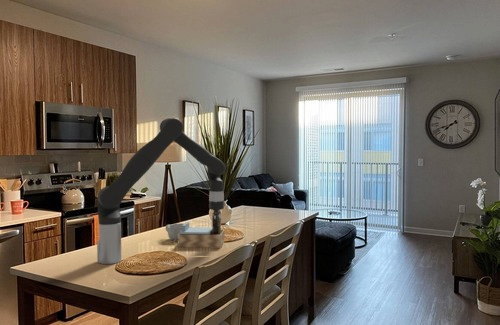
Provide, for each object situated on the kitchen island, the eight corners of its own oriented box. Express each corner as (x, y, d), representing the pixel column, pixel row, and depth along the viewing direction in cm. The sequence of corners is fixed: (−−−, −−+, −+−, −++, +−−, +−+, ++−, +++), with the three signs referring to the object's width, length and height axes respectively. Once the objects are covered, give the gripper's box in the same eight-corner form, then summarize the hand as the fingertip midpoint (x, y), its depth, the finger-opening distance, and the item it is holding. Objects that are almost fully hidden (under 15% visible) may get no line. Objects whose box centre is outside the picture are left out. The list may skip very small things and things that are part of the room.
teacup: (191, 239, 206) (191, 225, 206) (175, 243, 198) (175, 228, 198) (176, 235, 216) (176, 221, 216) (160, 238, 208) (160, 224, 208)
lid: (179, 234, 187) (179, 226, 187) (185, 228, 200) (185, 221, 200) (209, 234, 187) (209, 226, 186) (213, 229, 199) (213, 221, 199)
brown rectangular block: (212, 245, 191) (212, 217, 191) (213, 243, 195) (213, 216, 195) (220, 245, 191) (220, 217, 190) (221, 243, 195) (221, 216, 194)
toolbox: (178, 248, 187) (177, 234, 187) (183, 242, 200) (183, 229, 200) (221, 249, 186) (221, 235, 186) (224, 242, 199) (224, 229, 199)
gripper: (211, 198, 200) (211, 229, 200) (207, 201, 185) (207, 235, 186) (225, 198, 199) (225, 229, 200) (222, 201, 185) (222, 236, 186)
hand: (216, 232), depth 193 cm, fingers open, 4 cm apart
